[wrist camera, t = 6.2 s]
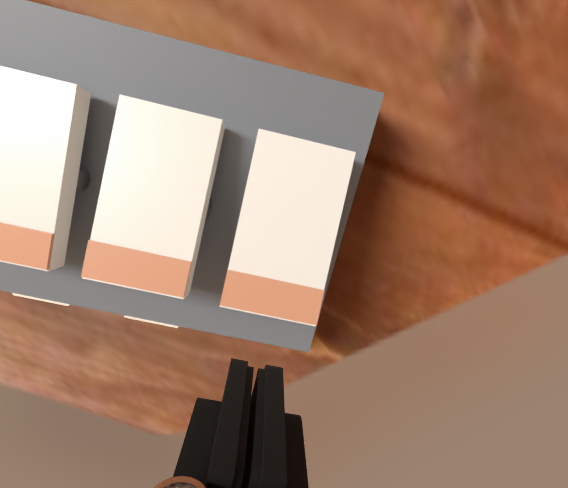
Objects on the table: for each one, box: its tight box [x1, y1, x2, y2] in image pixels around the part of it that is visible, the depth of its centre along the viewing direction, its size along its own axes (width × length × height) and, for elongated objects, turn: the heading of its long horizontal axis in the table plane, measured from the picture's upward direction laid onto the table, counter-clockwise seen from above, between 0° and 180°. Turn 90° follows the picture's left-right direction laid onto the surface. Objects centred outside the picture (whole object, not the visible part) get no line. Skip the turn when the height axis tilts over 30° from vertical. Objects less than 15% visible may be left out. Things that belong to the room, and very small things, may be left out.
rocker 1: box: [0, 66, 91, 271], centre depth 15 cm, size 4×8×1 cm, turn 167°
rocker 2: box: [81, 95, 225, 299], centre depth 16 cm, size 4×8×1 cm, turn 167°
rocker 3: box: [220, 129, 356, 327], centre depth 16 cm, size 4×8×1 cm, turn 167°
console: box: [0, 0, 384, 352], centre depth 19 cm, size 18×14×5 cm
